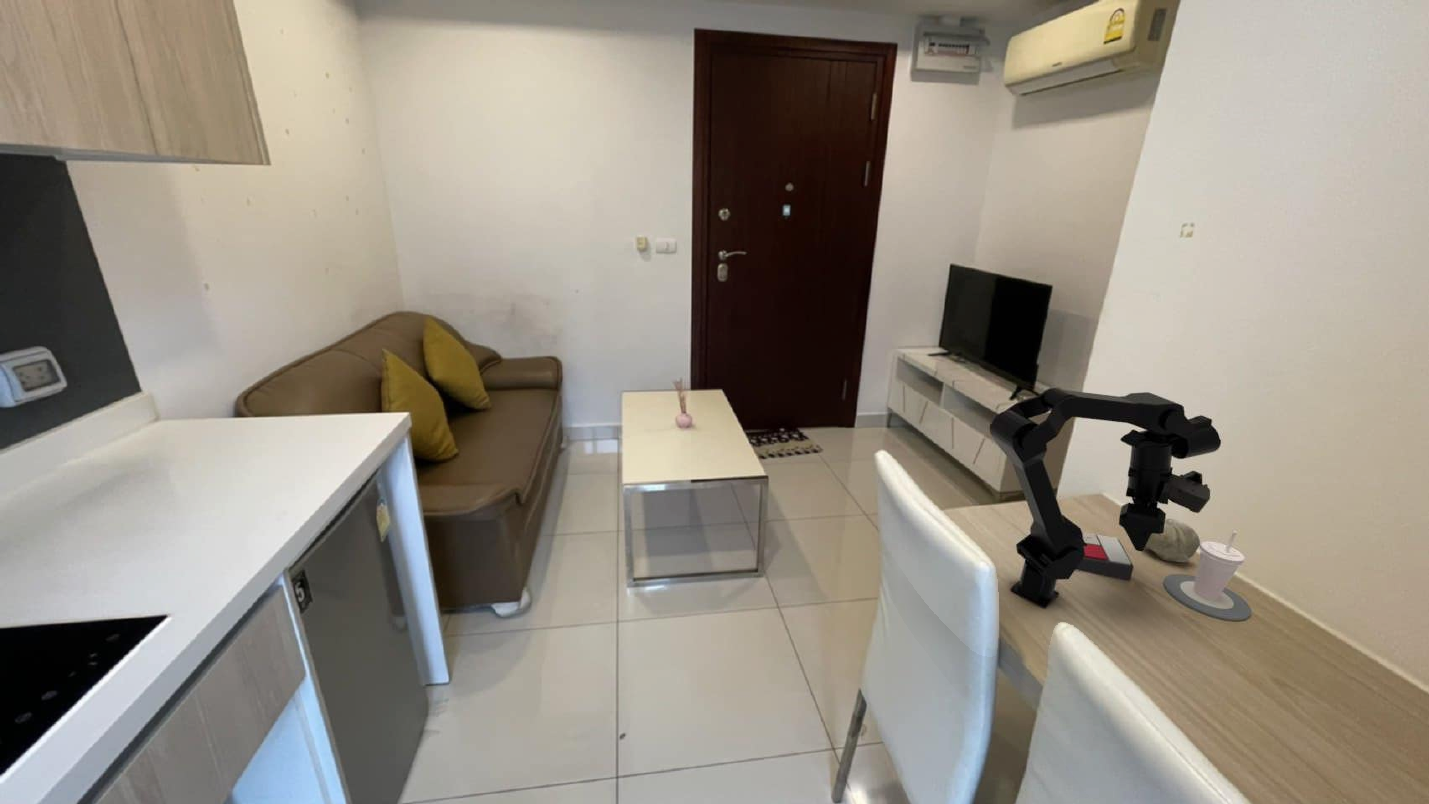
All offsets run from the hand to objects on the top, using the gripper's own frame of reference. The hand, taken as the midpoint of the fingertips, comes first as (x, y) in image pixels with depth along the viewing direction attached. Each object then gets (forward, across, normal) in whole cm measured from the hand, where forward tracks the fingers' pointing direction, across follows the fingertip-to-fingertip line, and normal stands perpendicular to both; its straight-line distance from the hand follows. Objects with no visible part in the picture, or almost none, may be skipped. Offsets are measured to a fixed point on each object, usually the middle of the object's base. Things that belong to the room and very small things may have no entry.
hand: (1141, 536), depth 106 cm
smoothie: (+14, +6, -10) cm, 19 cm away
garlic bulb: (+16, +18, -3) cm, 24 cm away
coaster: (+15, +6, -10) cm, 19 cm away
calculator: (+12, +5, +10) cm, 17 cm away
